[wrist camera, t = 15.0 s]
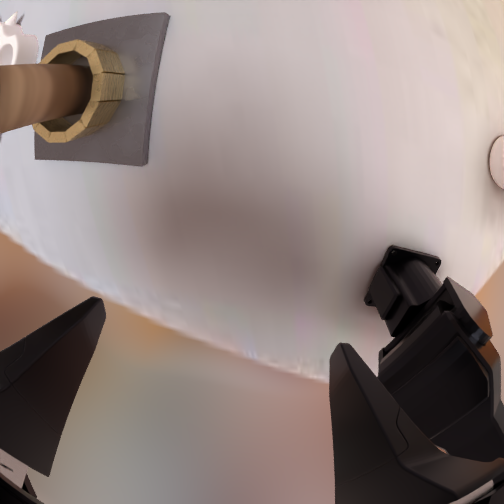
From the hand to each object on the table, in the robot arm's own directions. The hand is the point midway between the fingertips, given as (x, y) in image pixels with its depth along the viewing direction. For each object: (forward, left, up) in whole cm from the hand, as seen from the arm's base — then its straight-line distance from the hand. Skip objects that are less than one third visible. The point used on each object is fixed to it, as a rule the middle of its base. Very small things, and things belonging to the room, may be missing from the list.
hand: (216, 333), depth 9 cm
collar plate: (+14, -8, -13) cm, 21 cm away
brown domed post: (+14, -8, -12) cm, 20 cm away
